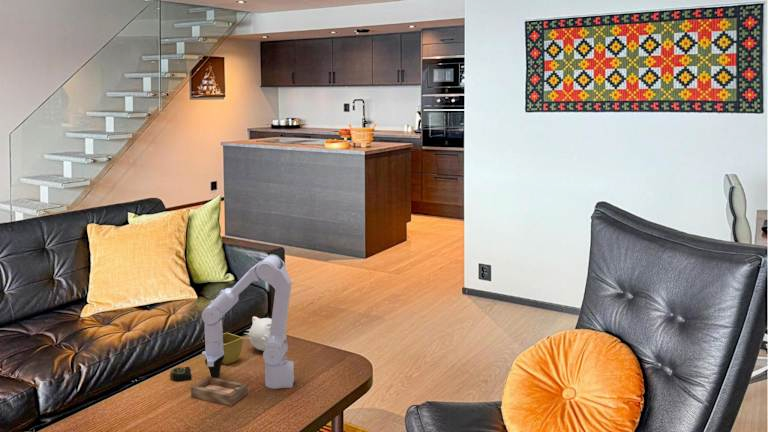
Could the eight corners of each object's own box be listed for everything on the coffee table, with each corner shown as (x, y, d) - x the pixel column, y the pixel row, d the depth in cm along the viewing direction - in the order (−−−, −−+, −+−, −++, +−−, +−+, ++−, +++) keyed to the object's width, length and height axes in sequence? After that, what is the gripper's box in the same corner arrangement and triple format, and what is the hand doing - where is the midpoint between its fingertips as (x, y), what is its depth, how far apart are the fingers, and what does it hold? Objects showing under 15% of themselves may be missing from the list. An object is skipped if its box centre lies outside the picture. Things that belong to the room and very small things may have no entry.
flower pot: (227, 354, 249) (227, 331, 247) (244, 360, 244) (243, 337, 242) (209, 362, 242) (208, 338, 240) (225, 368, 237) (224, 344, 235)
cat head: (293, 349, 255) (292, 318, 253) (267, 360, 245) (266, 328, 243) (266, 339, 264) (265, 310, 262) (240, 349, 254) (239, 318, 252)
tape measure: (191, 383, 225) (191, 373, 225) (170, 386, 223) (170, 375, 223) (191, 375, 232) (190, 365, 231) (170, 377, 230) (169, 367, 229)
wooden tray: (247, 393, 216) (247, 382, 215) (231, 405, 208) (230, 394, 207) (208, 385, 221) (208, 374, 221) (191, 397, 213) (190, 385, 212)
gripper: (206, 331, 229) (207, 369, 232) (196, 348, 215) (198, 387, 218) (227, 331, 230) (228, 369, 232) (219, 348, 215) (220, 387, 218)
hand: (215, 378), depth 225 cm, fingers closed
